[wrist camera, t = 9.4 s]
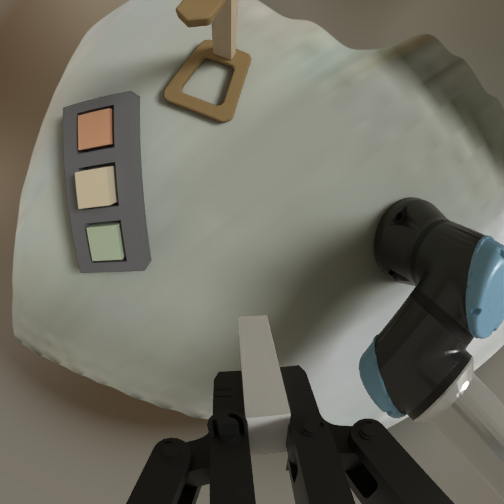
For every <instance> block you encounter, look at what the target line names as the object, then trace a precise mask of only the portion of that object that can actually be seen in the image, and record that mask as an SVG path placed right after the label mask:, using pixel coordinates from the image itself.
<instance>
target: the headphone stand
mask: <svg viewBox="0 0 504 504" xmlns="http://www.w3.org/2000/svg"><path fill="white" fill-rule="evenodd" d="M237 10H238V0H183V1H182V2H181V3H180V4H179V6H178V7H177V8H176V12H177V15H178V17H179V19H181V20H182V21H183V22H184V23H185V24H186V25H187V26H188V27H197V26H207V25H210V24H211V23H212V39H213V40H205V41H203V42H202V43H201V44H200V45H199V46H198V47H197V48H196V50H195V51H194V52H193V53H192V55H191V56H190V57H189V58H188V59H187V61H186V62H185V63H184V64H183V66H182V67H181V68H180V70H179V71H178V72H177V74H176V75H175V76H174V77H173V79H172V80H171V82H170V83H169V84H168V86H167V87H166V88H165V90H164V93H163V95H164V98H165V100H166V101H168V102H169V103H172V104H175V105H178V106H180V107H183V108H186V109H188V110H191V111H194V112H196V113H199V114H202V115H204V116H207V117H209V118H212V119H214V120H217V121H219V122H222V123H225V122H228V121H230V120H231V119H232V118H233V116H234V112H235V109H236V106H237V103H238V99H239V96H240V93H241V90H242V87H243V83H244V80H245V77H246V74H247V71H248V68H249V65H250V62H251V57H250V55H249V54H247V53H245V52H243V51H240V50H238V49H236V32H237ZM205 59H210V60H213V61H216V62H219V63H221V64H224V65H227V66H229V67H232V68H233V70H234V71H233V74H232V77H231V80H230V83H229V86H228V89H227V93H226V96H225V99H224V102H223V103H222V104H221V105H213V104H211V103H208V102H205V101H203V100H200V99H198V98H195V97H192V96H189V95H187V94H184V93H183V92H182V88H183V87H184V85H185V84H186V83H187V81H188V80H189V79H190V77H191V76H192V75H193V73H194V72H195V71H196V69H197V68H198V67H199V66H200V64H201V63H202V62H203V61H204V60H205Z"/></svg>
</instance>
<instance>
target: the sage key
mask: <svg viewBox="0 0 504 504" xmlns="http://www.w3.org/2000/svg"><path fill="white" fill-rule="evenodd" d="M86 229H87V235H88V240H89V246H90V251H91V256H92V261H104V260H122V259H123V258H124V257H125V256H126V253H125V246H124V240H123V233H122V226H121V220H118V221H107V222H97V223H94V224H92V225H90V226H88V227H87V228H86Z"/></svg>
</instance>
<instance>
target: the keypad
mask: <svg viewBox="0 0 504 504" xmlns="http://www.w3.org/2000/svg"><path fill="white" fill-rule="evenodd" d="M108 108H110V109H113V110H114V145H112V146H107V147H101V148H96V149H91V150H78V116H79V115H82V114H86V113H90V112H95V111H99V110H103V109H108ZM63 152H64V169H65V181H66V191H67V200H68V208H69V215H70V222H71V228H72V234H73V239H74V245H75V250H76V255H77V259H78V264H79V268H80V273H92V272H122V271H145V269H146V268H147V266H148V265H149V263H150V262H151V256H150V248H149V241H148V233H147V225H146V216H145V206H144V195H143V183H142V168H141V149H140V96H138V95H137V94H135V93H134V92H132V91H128V92H123V93H118V94H114V95H109V96H105V97H100V98H96V99H92V100H88V101H85V102H81V103H77V104H74V105H70V106H67V107H64V108H63ZM109 166H115V174H116V186H117V197H118V202H116V203H114V204H111V205H108V206H99V207H91V208H83V209H79V208H78V200H77V192H76V181H75V172H80V171H85V170H91V169H97V168H103V167H109ZM118 220H121V226H122V233H123V240H124V246H125V253H126V256H125V257H124V258H123V259H122V260H104V261H92V256H91V251H90V246H89V240H88V235H87V229H86V228H87V227H88V226H90V225H92V224H94V223H97V222H107V221H118Z"/></svg>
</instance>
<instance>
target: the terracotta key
mask: <svg viewBox="0 0 504 504" xmlns="http://www.w3.org/2000/svg"><path fill="white" fill-rule="evenodd" d="M112 145H114V110H113V109H110V108H108V109H103V110H99V111H95V112H90V113H86V114H82V115H79V116H78V150H91V149H96V148H101V147H107V146H112Z"/></svg>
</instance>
